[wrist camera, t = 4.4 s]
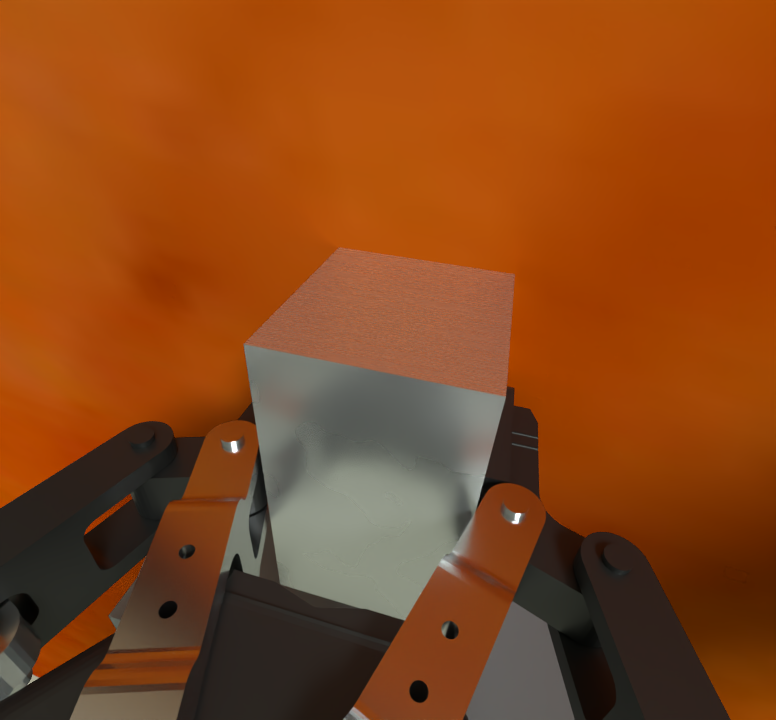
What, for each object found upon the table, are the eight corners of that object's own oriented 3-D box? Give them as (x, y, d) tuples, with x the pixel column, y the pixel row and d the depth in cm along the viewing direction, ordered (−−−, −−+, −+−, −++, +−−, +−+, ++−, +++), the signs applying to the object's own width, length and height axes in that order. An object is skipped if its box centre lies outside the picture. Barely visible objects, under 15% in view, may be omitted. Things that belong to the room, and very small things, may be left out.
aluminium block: (339, 247, 12) (243, 344, 8) (515, 274, 11) (505, 397, 7) (340, 456, 17) (280, 584, 13) (465, 486, 16) (443, 633, 12)
